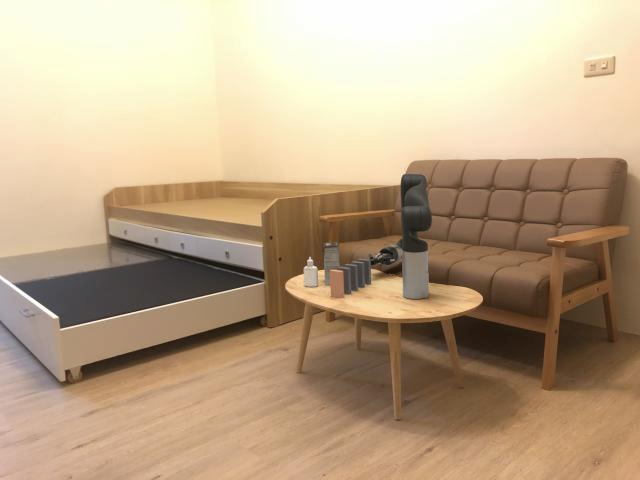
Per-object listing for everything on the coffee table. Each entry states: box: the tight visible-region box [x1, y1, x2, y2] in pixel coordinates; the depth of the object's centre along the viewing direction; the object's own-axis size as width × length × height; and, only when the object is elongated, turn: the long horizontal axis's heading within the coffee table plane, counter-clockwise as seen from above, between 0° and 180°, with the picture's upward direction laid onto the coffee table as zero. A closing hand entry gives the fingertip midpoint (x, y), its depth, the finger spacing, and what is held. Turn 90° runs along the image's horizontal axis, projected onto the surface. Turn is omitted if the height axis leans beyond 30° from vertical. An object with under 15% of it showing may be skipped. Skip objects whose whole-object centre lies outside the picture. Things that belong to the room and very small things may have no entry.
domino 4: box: [350, 260, 366, 289], centre depth 211 cm, size 2×5×10 cm, turn 54°
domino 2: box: [337, 266, 352, 295], centre depth 203 cm, size 2×5×10 cm, turn 54°
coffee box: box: [323, 241, 341, 286], centre depth 219 cm, size 9×6×16 cm
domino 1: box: [329, 270, 345, 299], centre depth 199 cm, size 2×5×10 cm, turn 54°
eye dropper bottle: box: [303, 256, 319, 288], centre depth 214 cm, size 4×6×12 cm
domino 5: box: [357, 258, 372, 286], centre depth 215 cm, size 2×5×10 cm, turn 54°
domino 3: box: [343, 263, 359, 292], centre depth 207 cm, size 2×5×10 cm, turn 54°
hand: (370, 262), depth 218 cm, fingers closed
